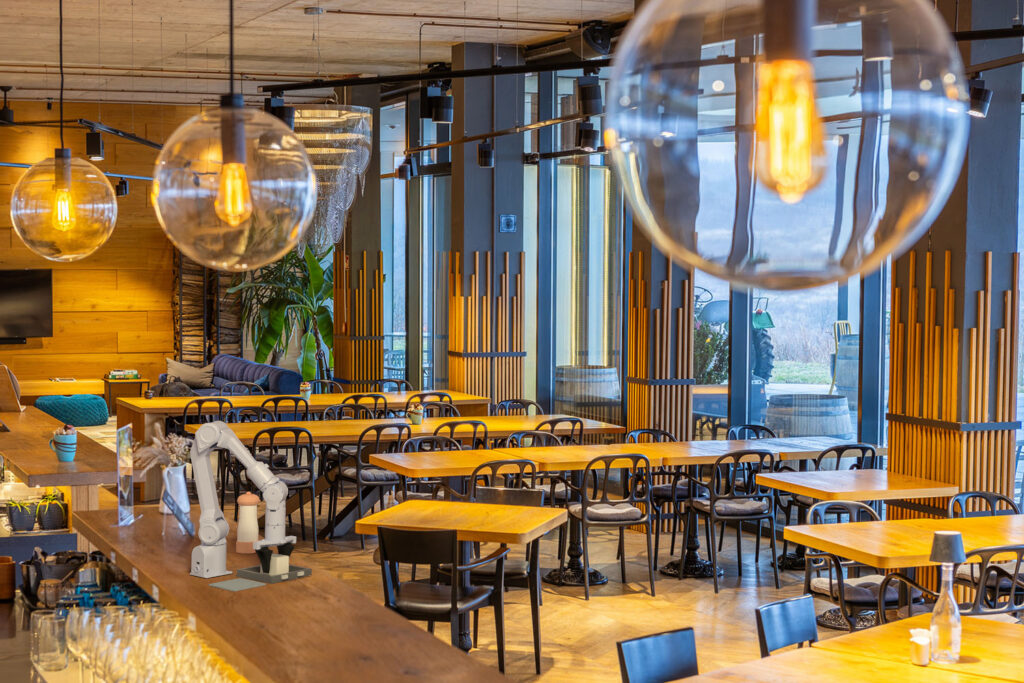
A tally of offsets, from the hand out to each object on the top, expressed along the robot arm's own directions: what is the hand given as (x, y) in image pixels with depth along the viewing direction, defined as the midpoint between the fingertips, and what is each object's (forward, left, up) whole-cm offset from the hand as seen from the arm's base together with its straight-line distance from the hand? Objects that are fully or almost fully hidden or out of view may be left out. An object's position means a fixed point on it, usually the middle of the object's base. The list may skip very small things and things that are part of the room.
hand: (274, 571), depth 329 cm
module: (0, 0, -2) cm, 2 cm away
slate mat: (-15, -2, -1) cm, 15 cm away
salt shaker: (+19, +35, -2) cm, 40 cm away
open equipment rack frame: (0, 0, -1) cm, 1 cm away
